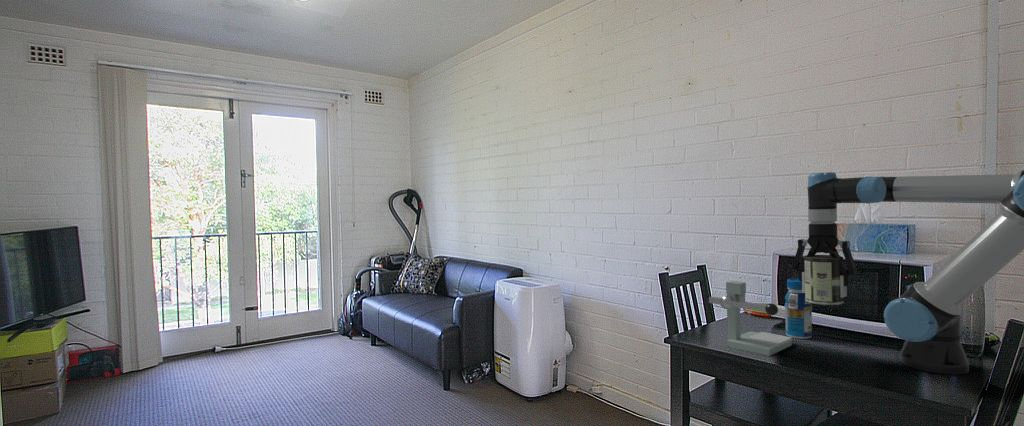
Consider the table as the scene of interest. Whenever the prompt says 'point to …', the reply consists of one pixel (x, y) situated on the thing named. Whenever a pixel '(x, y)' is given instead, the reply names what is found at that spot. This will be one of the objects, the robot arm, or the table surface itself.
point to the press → (750, 340)
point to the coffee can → (823, 280)
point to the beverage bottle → (797, 311)
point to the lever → (743, 305)
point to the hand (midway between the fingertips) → (823, 294)
